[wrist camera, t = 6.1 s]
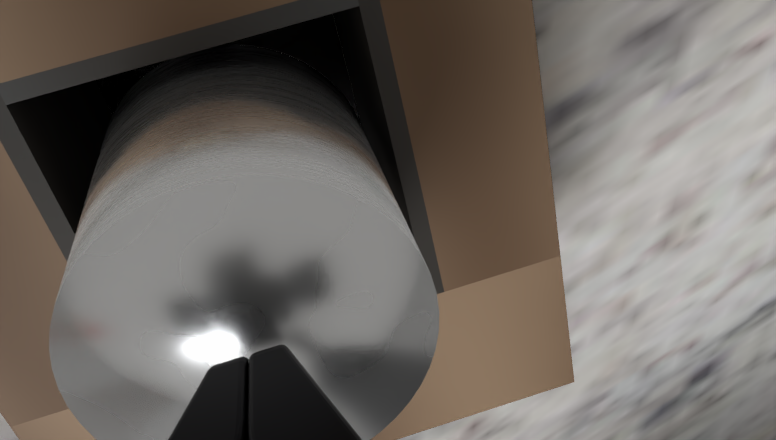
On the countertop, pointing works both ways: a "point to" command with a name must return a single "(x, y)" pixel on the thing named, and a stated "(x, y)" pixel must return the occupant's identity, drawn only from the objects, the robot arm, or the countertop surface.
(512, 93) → the walnut block
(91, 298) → the steel peg
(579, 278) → the countertop surface
